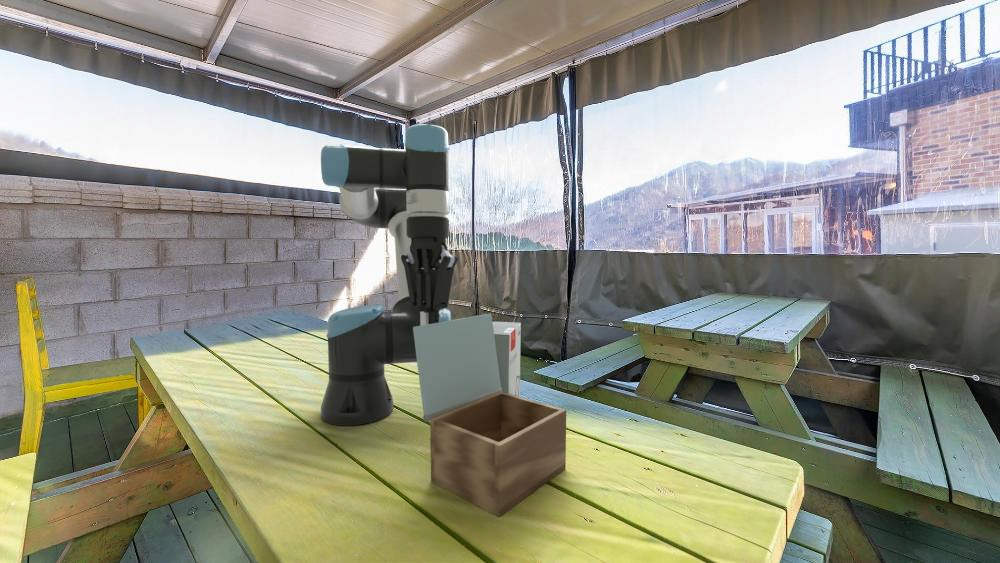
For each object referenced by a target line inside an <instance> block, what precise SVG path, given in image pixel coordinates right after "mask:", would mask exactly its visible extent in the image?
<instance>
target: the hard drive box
mask: <svg viewBox="0 0 1000 563" xmlns="http://www.w3.org/2000/svg"><path fill="white" fill-rule="evenodd" d="M492 322H493V330H494V337H495V345H496V353H497V360H498V368H499V376H500V383H501V388H502V392H504V393H508V394H511V395H515V396H518V397H521V339H522V336H521V335H522V334H521V333H522V332H521V331H522V329H521V328H522V323H521V322H515V321H514V322H513V321H512V322H511V321H510V322H509V321H492Z"/></svg>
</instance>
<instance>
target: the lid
mask: <svg viewBox="0 0 1000 563" xmlns="http://www.w3.org/2000/svg"><path fill="white" fill-rule="evenodd" d="M493 322H494V321H493V317H492V313H485V314H480V315H474V316H468V317H463V318H458V319H451V321H445V322H439V323H434V324H428V325H422V326H416V327H413V333H414V341H415V349H416V357H417V362H416V363H417V372H418V380H419V381H418V382H419V389H420V395H421V404H422V411H423V412H422V413H423V416H422V418H423V421H424V422H425V423H428V422H430V419H432V418H435V417H437V416H440V415H443V414H445V413H448V412H450V411H453V410H455V409H458V408H460V407H463V406H465V405H468V404H470V403H473V402H476V401H478V400H481V399H483V398H486V397H488V396H491V395H493V394H496V393H498V392H502V388H501V383H500V376H499V368H498V360H497V353H496V345H495V337H494V330H493Z"/></svg>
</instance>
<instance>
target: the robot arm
mask: <svg viewBox="0 0 1000 563" xmlns="http://www.w3.org/2000/svg"><path fill="white" fill-rule="evenodd" d="M404 136H405V141H404V149H400V148H399V149H398V148H383V147H382V148H381V147H372V146H371V147H369V146H368V147H367V146H355V145H345V144H333V145H331V144H326V145H324V146H323V147H322V149H321V152H320V169H321V171H320V172H321V179H322V182H323V183H324V185H326V186H329V187H337V188H338V189H339V191H340V195H339V200H338V201H339V206H340V208H341V211H342V212H343V214H344V215H345V216H346V217H347V218H348V219H350V220H351V221H352V222H353V221H354V222H355V223H357V224H359V225H362V226H364V227H368V228H372V229H388V232H389V234H390V235H391V236H392V237H393V238H394V247H395V248H394V249H395V261H396V262H395V264H396V266H395V267H396V279H397V280H396V281H397V294H398V295H397V296H398V297H397V298H398V300H397V301H396V302H395V303H394V304H393V306H392V311H385V308H384V306H383V305H382V304H367V305H361V306H353V307H349V308H345V309H340V310H338V311H336V312H334V313H332V314H331V315H330V316H329V317H328V320H327V334H326V339H327V348H328V349H327V350H328V351H327V352H328V353H327V354H328V360H327V361H328V383H327V385H326V390H325V393H324V396H323V398H322V399H323V400H322V403H321V406H320V416H321V420H322V421H324V422H325V423H327V424H330V425H335V426H357V425H358V426H359V425H365V424H370V423H375V422H377V421H380V420H382V419H384V418H386V417H388V416H390V415H391V413H393V411H394V399H393V395H392V392H391V390H390V388H389V385H388V382H387V379H386V377H385V374H386V373H385V365H390V364H391V365H393V364H395V365H396V364H406V363H407V364H408V363H409V364H410V363H417V357H416V349H415V341H414V333H413V327H416V326H422V325H428V324H434V323H439V322H445V321H451V320H452V313H451V310H450V309H448V305H449V300H450V293H451V288H452V283H453V282H452V281H453V275H454V269H455V267H456V265H457V263H458V260H459V259H458V258H459V257H458V256H457V255H452V254H451V253H450V252H449V251H448V245H447V242H446V240H447V239H448V238H449V237H450V219H449V218H448V217H446V216H447V215H449V214H450V199H449V198H450V194H449V193H450V192H449V161H450V160H449V158H450V157H449V155H450V152H449V151H450V146H449V133H448V131H447V130H446V129H445V128H444V127H442V126H440V125H435V124H429V123H427V124H425V123H423V124H422V123H421V124H419V123H418V124H413V125H411V126H408V127H407V128H406V130H405V135H404Z"/></svg>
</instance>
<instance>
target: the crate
mask: <svg viewBox="0 0 1000 563" xmlns="http://www.w3.org/2000/svg"><path fill="white" fill-rule="evenodd" d="M429 423H430V424H429V425H430V426H429V428H430V429H429V430H430V432H429V433H430V438H429V440H430V482H431V483H433V484H435V485H437V486H438V487H440V488H442V489H445V490H447V491H448V492H450V493H452V494H454V495H456V496H458V497H460V498H461V499H464V500H465V501H467V502H469V503H470V504H473V505H475V506H477V507H480V509H482V510H485V511H487V512H488V513H490V514H493V515H495V516H496V517H498V518H501V517H502V516H504V515H505V514H506V513H508V512H509V511H510V510H512V509H513V508H514V507H516V506H517V505H518V504H520V503H521V502H522V501H524V500H525V499H526V498H528V497H529V496H531V495H532V494H533V493H535V492H536V491H538V490H539V489H540V488H542V487H543V486H544V485H545V484H547V483H548V482H550V481H551V480H552V479H554V478H555V477H556V476H557V475H559V474H560V473H562V472H563V471H564V470H566V467H567V466H566V460H567V459H566V458H567V457H566V454H567V452H566V450H567V409H564V408H560V407H557V406H555V405H554V406H553V405H550V404H548V403H543V402H540V401H537V400H531V399H528V398H525V397H522V396H520V397H518V396H515V395H511V394H508V393H504V392H498V393H496V394H493V395H491V396H488V397H486V398H483V399H481V400H478V401H476V402H473V403H470V404H468V405H465V406H463V407H460V408H458V409H455V410H453V411H450V412H448V413H445V414H443V415H440V416H437V417H435V418H432V419H430V421H429Z"/></svg>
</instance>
